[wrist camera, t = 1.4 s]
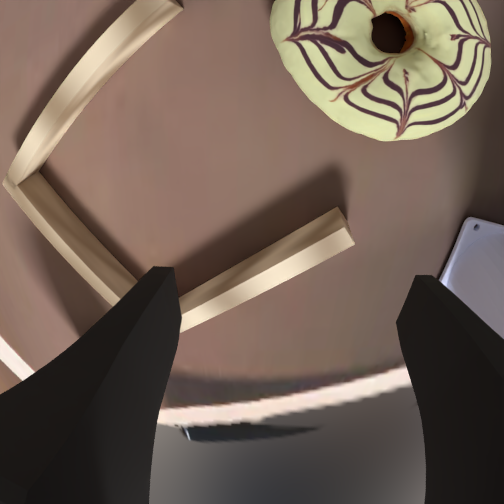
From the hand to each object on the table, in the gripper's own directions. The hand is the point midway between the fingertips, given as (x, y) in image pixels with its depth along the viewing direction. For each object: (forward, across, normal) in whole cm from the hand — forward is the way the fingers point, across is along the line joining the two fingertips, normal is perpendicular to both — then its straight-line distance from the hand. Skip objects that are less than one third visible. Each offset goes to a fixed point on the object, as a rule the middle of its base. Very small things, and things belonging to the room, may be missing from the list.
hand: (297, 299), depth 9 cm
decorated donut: (+10, -5, -9) cm, 14 cm away
